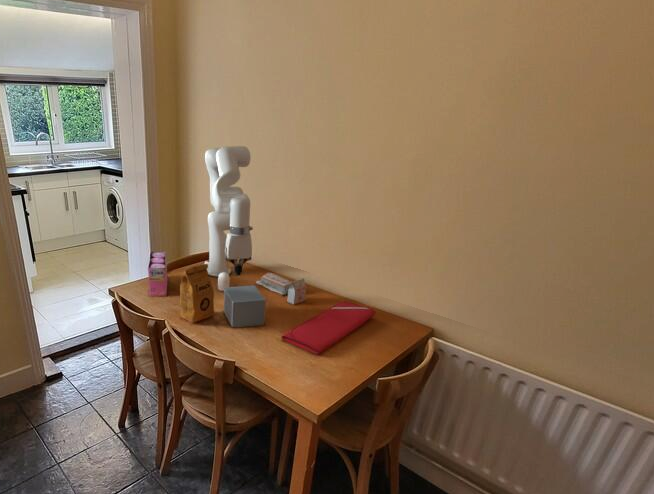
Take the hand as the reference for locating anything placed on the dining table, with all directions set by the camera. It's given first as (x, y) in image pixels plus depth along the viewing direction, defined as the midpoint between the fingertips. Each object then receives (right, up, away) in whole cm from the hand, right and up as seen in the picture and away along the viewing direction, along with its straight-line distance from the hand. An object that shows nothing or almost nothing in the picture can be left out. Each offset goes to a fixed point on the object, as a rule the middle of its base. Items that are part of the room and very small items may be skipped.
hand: (237, 274), depth 167 cm
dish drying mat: (+34, -22, -12) cm, 42 cm away
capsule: (-4, -5, +24) cm, 25 cm away
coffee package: (-16, -18, -3) cm, 24 cm away
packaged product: (+21, -4, +25) cm, 33 cm away
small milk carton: (+26, -11, +10) cm, 30 cm away
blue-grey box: (+2, -18, -3) cm, 18 cm away
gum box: (-34, -4, +27) cm, 44 cm away
